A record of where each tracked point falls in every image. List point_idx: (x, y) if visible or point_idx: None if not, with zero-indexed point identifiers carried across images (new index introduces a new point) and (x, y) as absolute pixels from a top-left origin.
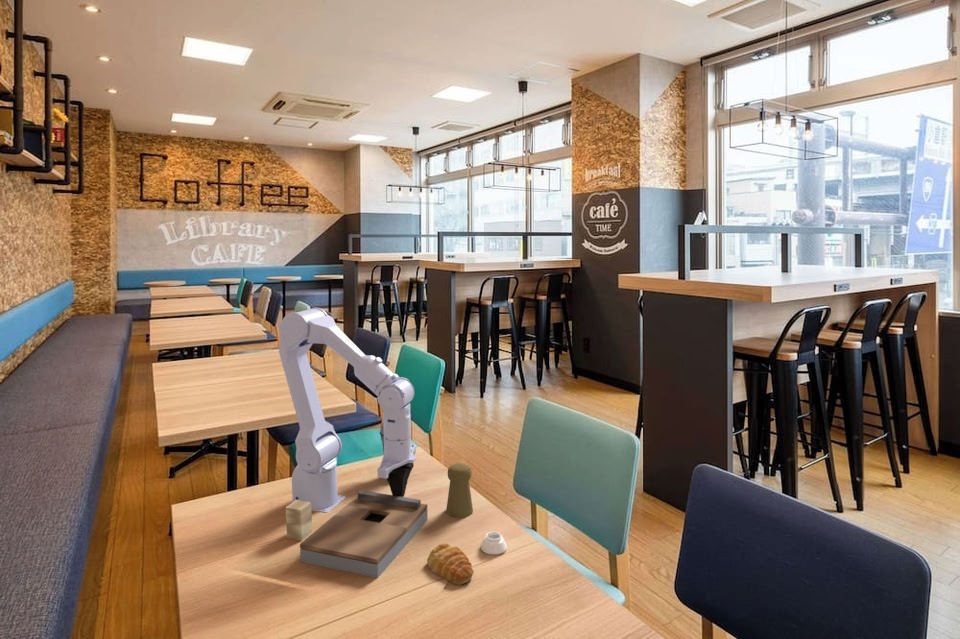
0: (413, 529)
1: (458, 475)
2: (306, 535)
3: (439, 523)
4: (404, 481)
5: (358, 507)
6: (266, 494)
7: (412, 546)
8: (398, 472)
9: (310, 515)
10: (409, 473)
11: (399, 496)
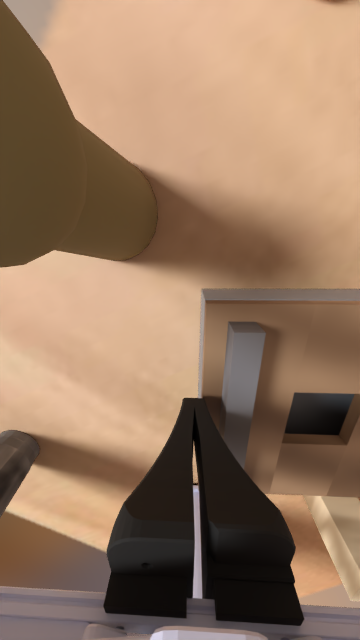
0: (316, 295)
1: (34, 68)
2: None
3: (196, 252)
4: (210, 452)
5: (275, 469)
6: None
7: (342, 274)
8: (292, 558)
9: (344, 531)
10: (162, 473)
11: (227, 410)
